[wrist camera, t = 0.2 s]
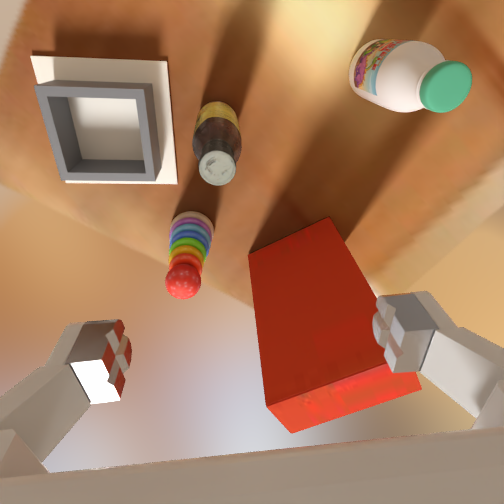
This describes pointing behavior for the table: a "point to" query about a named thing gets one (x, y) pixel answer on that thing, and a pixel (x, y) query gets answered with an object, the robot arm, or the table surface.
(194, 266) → the stacking toy
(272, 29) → the table surface
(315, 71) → the table surface
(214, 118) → the sauce bottle
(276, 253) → the tall red box
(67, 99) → the mount collar
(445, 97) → the milk bottle
